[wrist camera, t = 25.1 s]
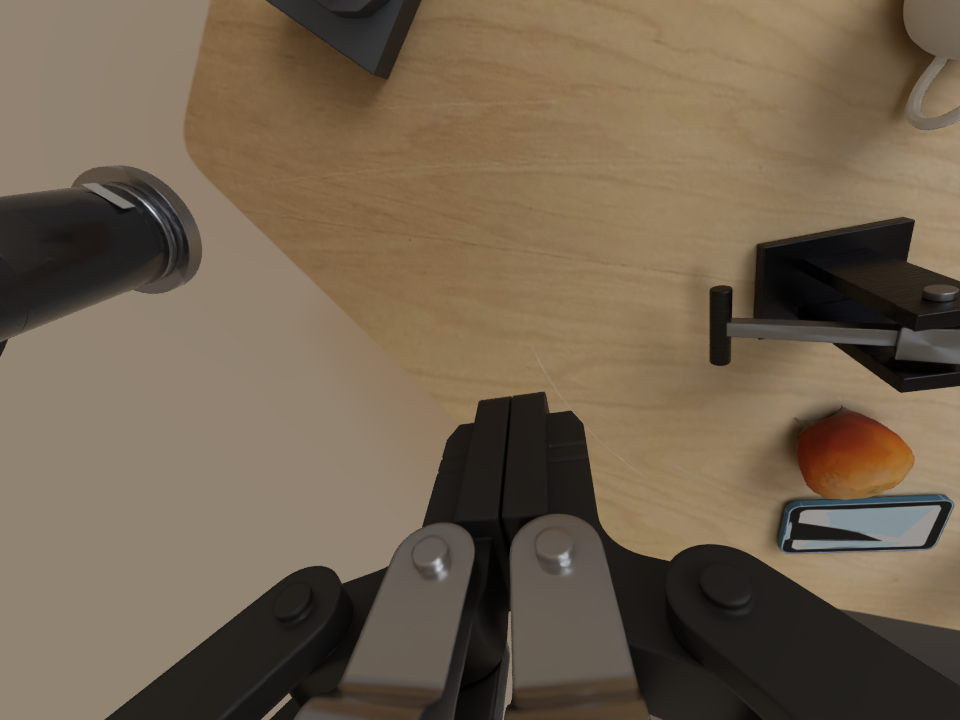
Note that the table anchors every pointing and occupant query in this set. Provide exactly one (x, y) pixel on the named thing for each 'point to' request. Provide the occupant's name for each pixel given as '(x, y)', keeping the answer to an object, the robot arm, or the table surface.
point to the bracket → (861, 293)
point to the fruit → (851, 456)
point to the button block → (357, 27)
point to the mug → (932, 52)
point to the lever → (827, 334)
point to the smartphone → (864, 524)
